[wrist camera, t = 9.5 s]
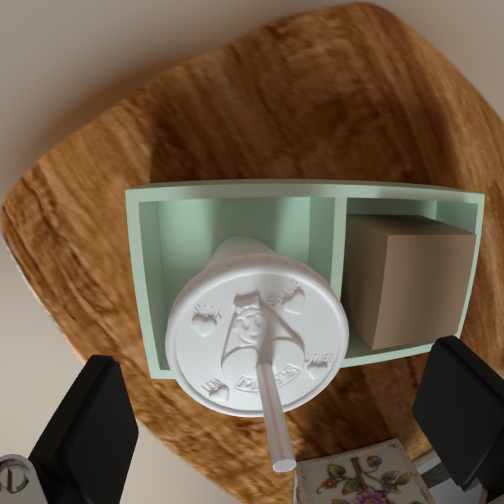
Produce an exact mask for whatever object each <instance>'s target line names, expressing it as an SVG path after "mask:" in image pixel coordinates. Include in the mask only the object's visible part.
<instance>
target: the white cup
mask: <svg viewBox="0 0 504 504" xmlns="http://www.w3.org/2000/svg"><path fill="white" fill-rule="evenodd" d="M348 339H349V328H348V322H347V317H346V314H345V311H344V309H343V306H342V304H341V303H340V301H339V299H338V298H337V296H336V294H335V293H334V291H333V290H332V288H331V287H330V285H329V284H328V282H327V281H326V279H324V278H323V277H322V276H321V275H320V274H318V273H317V272H316V271H315V270H313V269H312V268H311V267H310V266H308V265H307V264H304V263H302V262H299V261H297V260H295V259H292V258H290V257H287V256H284V255H279V254H277V253H276V252H275V251H273V250H272V249H271V248H269V247H268V246H267V245H265V244H264V243H263V242H261V241H260V240H258V239H256V238H254V237H251V236H246V235H239V236H234V237H231V238H229V239H227V240H225V241H224V242H222V243H221V244H220V245H219V246H218V248H217V249H216V251H215V252H214V254H213V255H212V257H211V259H210V260H209V262H208V264H207V265H206V267H205V269H204V270H203V271H201V272H200V273H199V274H197V275H196V276H195V277H193V278H192V279H191V280H190V281H189V282H188V283H187V284H186V286H185V287H184V288H183V290H182V291H181V292H180V293H179V295H178V296H177V297H176V299H175V301H174V304H173V307H172V309H171V312H170V315H169V317H168V326H167V332H166V339H165V350H166V357H167V361H168V364H169V367H170V370H171V372H172V374H173V376H174V378H175V379H176V381H177V382H178V384H179V385H180V386H181V387H182V388H183V390H184V391H185V392H186V393H187V394H189V395H190V396H191V397H192V398H193V399H195V400H196V401H198V402H199V403H201V404H202V405H204V406H206V407H208V408H210V409H213V410H215V411H218V412H221V413H224V414H228V415H233V416H240V417H264V420H265V425H266V431H267V436H268V442H269V447H270V453H271V458H272V464H273V469H274V470H275V471H278V472H286V471H290V470H292V469H293V468H295V466H296V460H295V456H294V452H293V448H292V444H291V441H290V437H289V433H288V429H287V425H286V421H285V417H284V413H283V412H286V411H289V410H292V409H294V408H296V407H298V406H300V405H302V404H304V403H306V402H307V401H309V400H310V399H312V398H313V397H315V396H316V395H317V394H319V393H320V392H321V391H322V390H323V389H324V388H325V387H326V386H327V385H328V384H329V383H330V382H331V380H332V379H333V378H334V377H335V375H336V374H337V372H338V370H339V369H340V367H341V365H342V363H343V360H344V358H345V355H346V351H347V347H348Z"/></svg>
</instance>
